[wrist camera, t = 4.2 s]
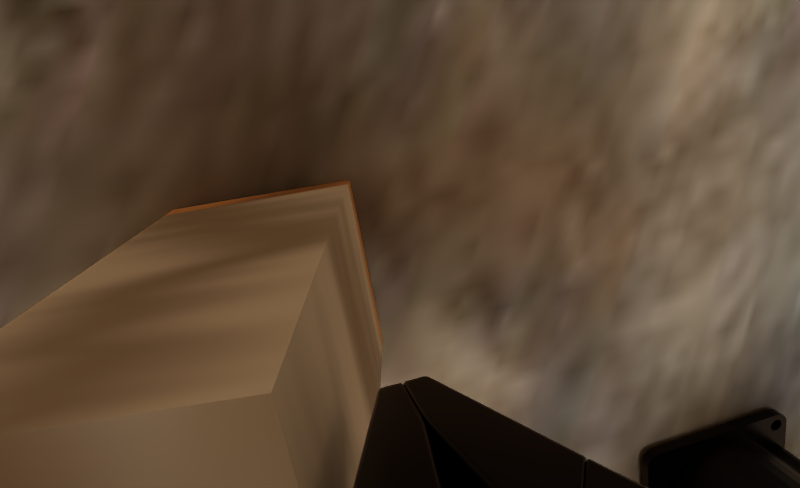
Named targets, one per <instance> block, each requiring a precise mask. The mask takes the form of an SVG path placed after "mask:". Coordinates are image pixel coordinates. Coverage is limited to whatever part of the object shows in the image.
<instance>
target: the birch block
mask: <svg viewBox="0 0 800 488" xmlns="http://www.w3.org/2000/svg"><path fill="white" fill-rule="evenodd" d="M381 361H382V335H381V330H380V325H379V320H378V315H377V310H376V306H375V301H374V296H373V291H372V286H371V281H370V276H369V271H368V266H367V261H366V257H365V252H364V247H363V242H362V237H361V232H360V227H359V222H358V217H357V212H356V208H355V203H354V198H353V193H352V188H351V183H350V180H344V181H338V182H332V183H326V184H320V185H314V186H309V187H303V188H297V189H291V190H285V191H279V192H273V193H268V194H262V195H256V196H250V197H244V198H238V199H232V200H227V201H221V202H215V203H209V204H203V205H197V206H191V207H186V208H180V209H174V210H172V211H170V212H169V213H167V214H166V215H165V216H163V217H162V218H160V219H159V220H157V221H156V222H154V223H153V224H151V225H150V226H149V227H147V228H146V229H144V230H143V231H141V232H140V233H138V234H137V235H135V236H134V237H133V238H131V239H130V240H128V241H127V242H125V243H124V244H122V245H121V246H119V247H118V248H117V249H115V250H114V251H112V252H111V253H109V254H108V255H106V256H105V257H103V258H102V259H101V260H99V261H98V262H96V263H95V264H93V265H92V266H90V267H89V268H87V269H86V270H85V271H83V272H82V273H80V274H79V275H77V276H76V277H74V278H73V279H71V280H70V281H69V282H67V283H66V284H64V285H63V286H61V287H60V288H58V289H57V290H56V291H54V292H53V293H51V294H50V295H48V296H47V297H45V298H44V299H42V300H41V301H40V302H38V303H37V304H35V305H34V306H32V307H31V308H29V309H28V310H26V311H25V312H24V313H22V314H21V315H19V316H18V317H16V318H15V319H13V320H12V321H10V322H9V323H8V324H6V325H5V326H3V327H2V328H0V488H353V486H354V482H355V478H356V474H357V470H358V466H359V462H360V458H361V454H362V451H363V447H364V443H365V439H366V435H367V431H368V427H369V423H370V419H371V415H372V412H373V408H374V404H375V400H376V396H377V392H378V390H379V389H380V384H381Z"/></svg>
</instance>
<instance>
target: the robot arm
mask: <svg viewBox="0 0 800 488" xmlns="http://www.w3.org/2000/svg"><path fill="white" fill-rule="evenodd" d="M785 432H786V418H785V416H784V415H782V414H781V413H779V412H778V411H776V410H774V409H769V410H766V411H763V412H759V413H756V414H753V415H750V416H747V417H744V418H741V419H738V420H735V421H732V422H729V423H726V424H723V425H720V426H717V427H714V428H711V429H708V430H705V431H702V432H699V433H696V434H693V435H690V436H687V437H684V438H681V439H678V440H675V441H672V442H669V443H666V444H663V445H660V446H657V447H654V448H651V449H649V450H648V451H647V452H646V453H645V454H644V455H643V457H642V461H641V466H642V485H641V484H639V483H637V482H635V481H633V480H631V479H629V478H627V477H625V476H623V475H621V474H619V473H616V472H614V471H612V470H610V469H608V468H606V467H604V466H602V465H601V464H599V463H597V462H595V461H593V460H591V459H588V460H587V461H586V458H585V457H584V456H582V455H580V454H579V453H577V452H575V451H573V450H571V449H569V448H567V447H565V446H563V445H561V444H559V443H557V442H555V441H553V440H551V439H549V438H547V437H545V436H543V435H541V434H539V433H537V432H535V431H534V430H532V429H530V428H528V427H526V426H524V425H522V424H520V423H518V422H516V421H514V420H512V419H510V418H508V417H506V416H504V415H502V414H500V413H498V412H496V411H494V410H492V409H490V408H488V407H487V406H485V405H483V404H481V403H479V402H477V401H475V400H473V399H471V398H469V397H467V396H465V395H463V394H461V393H459V392H457V391H455V390H453V389H451V388H449V387H447V386H445V385H443V384H441V383H440V382H438V381H436V380H434V379H432V378H430V377H427V376H423V377H420V378H416V379H413V380H409V381H406V382H405V383H404V384H401V383H398V384H395V385H391V386H387V387H384V388H381V389H379V390H378V392H377V396H376V400H375V404H374V408H373V412H372V415H371V419H370V423H369V427H368V431H367V435H366V439H365V443H364V447H363V451H362V454H361V458H360V462H359V466H358V470H357V474H356V478H355V482H354V486H353V488H800V460H799V459H798V458H797V457H795V456H794V455H792V454H791V453H790V452H788V451H787V450H785V449H784V444H785Z"/></svg>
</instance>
